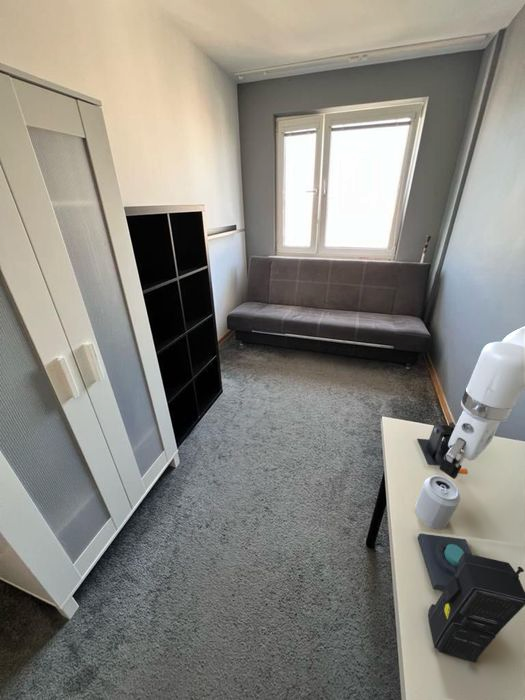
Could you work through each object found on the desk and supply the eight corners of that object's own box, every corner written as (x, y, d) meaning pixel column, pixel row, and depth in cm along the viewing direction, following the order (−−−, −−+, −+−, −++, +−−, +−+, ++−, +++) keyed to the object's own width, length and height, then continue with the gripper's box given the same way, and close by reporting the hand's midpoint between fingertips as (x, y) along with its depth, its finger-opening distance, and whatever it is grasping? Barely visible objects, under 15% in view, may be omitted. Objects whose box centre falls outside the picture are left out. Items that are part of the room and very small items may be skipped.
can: (447, 510, 72) (462, 480, 66) (447, 537, 67) (463, 507, 61) (415, 496, 76) (426, 467, 70) (412, 521, 70) (424, 492, 64)
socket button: (458, 549, 61) (461, 545, 60) (466, 568, 58) (469, 564, 57) (441, 546, 62) (443, 542, 61) (448, 565, 59) (450, 561, 58)
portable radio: (428, 650, 50) (475, 588, 38) (420, 608, 56) (459, 542, 43) (477, 665, 49) (543, 605, 37) (464, 620, 54) (518, 554, 42)
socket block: (462, 544, 65) (468, 534, 63) (485, 597, 57) (493, 588, 55) (417, 538, 67) (421, 529, 65) (433, 589, 58) (438, 580, 56)
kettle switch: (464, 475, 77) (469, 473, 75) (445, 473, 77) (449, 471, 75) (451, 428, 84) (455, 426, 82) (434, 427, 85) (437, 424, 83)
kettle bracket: (459, 469, 83) (472, 441, 77) (427, 466, 84) (437, 438, 78) (445, 443, 91) (456, 416, 85) (416, 441, 93) (425, 414, 87)
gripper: (489, 434, 47) (457, 496, 56) (526, 396, 56) (494, 455, 64) (443, 410, 53) (420, 470, 61) (483, 379, 61) (459, 435, 69)
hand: (458, 462), depth 63 cm, fingers open, 9 cm apart
